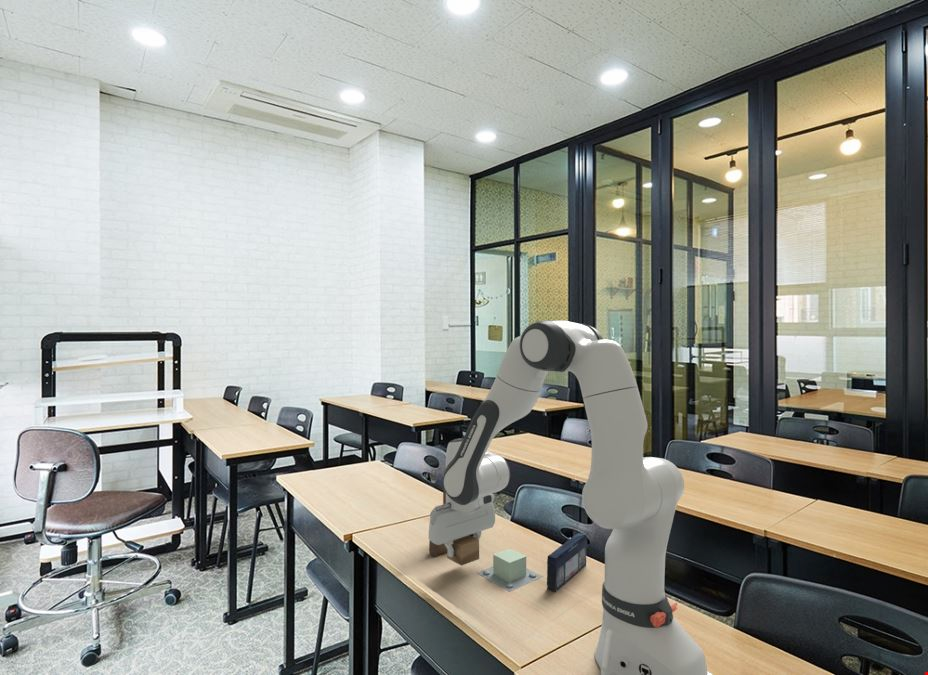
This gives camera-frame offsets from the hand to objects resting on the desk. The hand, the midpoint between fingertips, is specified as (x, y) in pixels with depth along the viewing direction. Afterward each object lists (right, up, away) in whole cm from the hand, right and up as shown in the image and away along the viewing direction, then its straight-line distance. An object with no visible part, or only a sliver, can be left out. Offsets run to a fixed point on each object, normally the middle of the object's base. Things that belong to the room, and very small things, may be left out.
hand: (463, 552), depth 132 cm
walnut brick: (0, -2, 0) cm, 2 cm away
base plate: (+12, -7, -2) cm, 14 cm away
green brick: (+12, -5, -2) cm, 13 cm away
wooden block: (-5, -6, +14) cm, 16 cm away
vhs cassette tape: (+27, -7, -3) cm, 28 cm away
